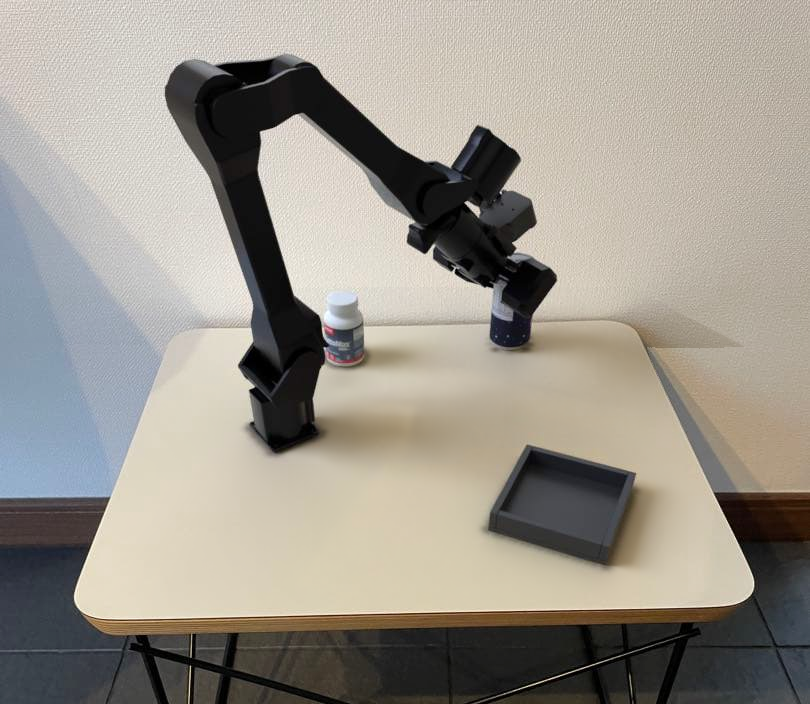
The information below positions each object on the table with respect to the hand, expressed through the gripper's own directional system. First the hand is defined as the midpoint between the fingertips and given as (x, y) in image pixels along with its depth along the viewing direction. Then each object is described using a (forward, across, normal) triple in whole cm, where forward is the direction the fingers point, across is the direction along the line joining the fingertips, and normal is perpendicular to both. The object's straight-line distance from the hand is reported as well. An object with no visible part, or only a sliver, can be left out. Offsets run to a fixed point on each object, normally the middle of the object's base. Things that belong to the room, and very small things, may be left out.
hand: (521, 296), depth 104 cm
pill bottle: (-11, +10, +21) cm, 25 cm away
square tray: (-9, -30, +18) cm, 36 cm away
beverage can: (+4, 0, +6) cm, 7 cm away
